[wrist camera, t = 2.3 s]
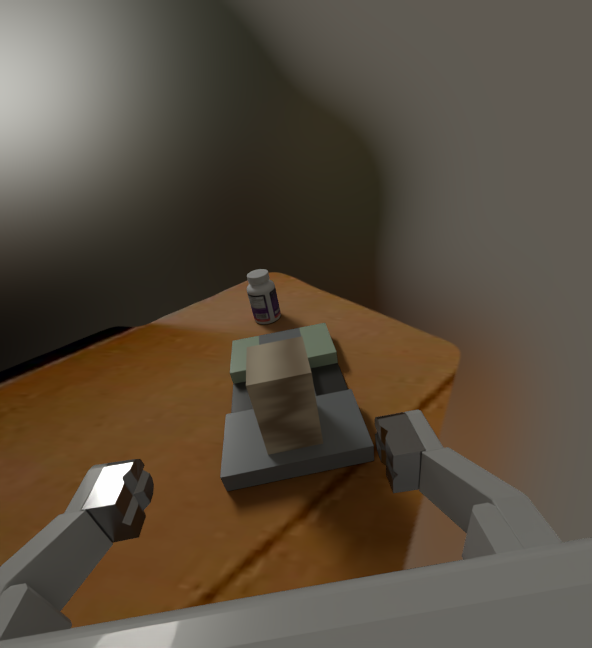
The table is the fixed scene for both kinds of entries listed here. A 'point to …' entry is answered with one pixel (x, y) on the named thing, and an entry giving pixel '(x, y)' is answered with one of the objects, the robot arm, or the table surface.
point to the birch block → (283, 395)
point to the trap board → (333, 409)
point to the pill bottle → (263, 297)
